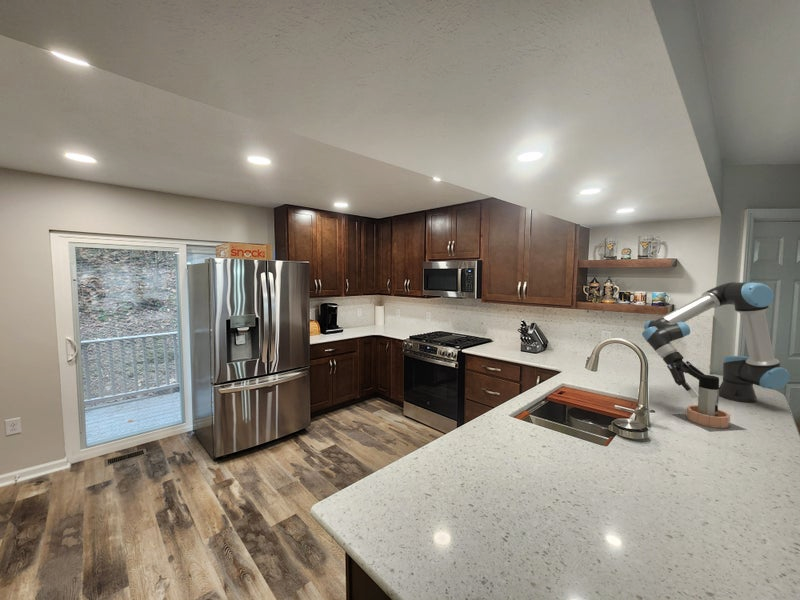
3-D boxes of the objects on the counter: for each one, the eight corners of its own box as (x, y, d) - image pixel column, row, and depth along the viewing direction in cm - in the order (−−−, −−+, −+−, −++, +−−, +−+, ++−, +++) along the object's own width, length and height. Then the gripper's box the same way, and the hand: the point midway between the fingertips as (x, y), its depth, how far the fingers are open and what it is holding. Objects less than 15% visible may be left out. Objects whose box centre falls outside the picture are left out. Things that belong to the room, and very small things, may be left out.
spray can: (718, 424, 145) (721, 379, 143) (697, 420, 149) (700, 376, 148) (715, 419, 150) (718, 376, 149) (696, 415, 154) (698, 373, 153)
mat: (704, 413, 159) (704, 412, 159) (747, 430, 141) (747, 429, 141) (670, 415, 157) (670, 414, 157) (709, 433, 140) (709, 431, 140)
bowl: (705, 414, 157) (705, 404, 157) (738, 427, 143) (738, 416, 143) (678, 415, 156) (679, 405, 155) (709, 429, 142) (709, 418, 141)
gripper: (679, 356, 170) (713, 395, 157) (647, 361, 161) (681, 402, 148) (692, 348, 165) (728, 387, 152) (659, 352, 155) (695, 394, 143)
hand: (705, 394), depth 150 cm, fingers open, 13 cm apart
